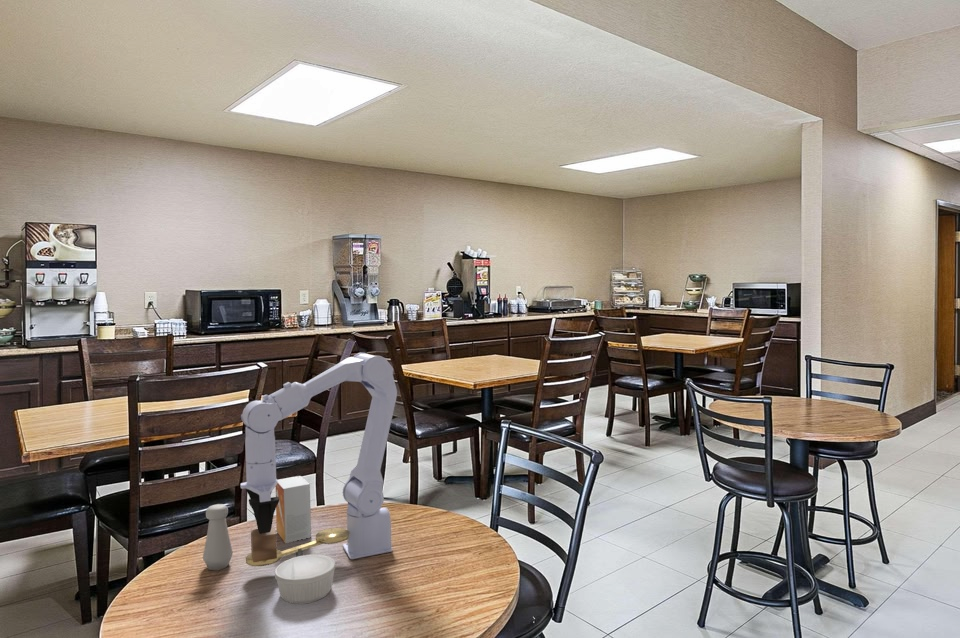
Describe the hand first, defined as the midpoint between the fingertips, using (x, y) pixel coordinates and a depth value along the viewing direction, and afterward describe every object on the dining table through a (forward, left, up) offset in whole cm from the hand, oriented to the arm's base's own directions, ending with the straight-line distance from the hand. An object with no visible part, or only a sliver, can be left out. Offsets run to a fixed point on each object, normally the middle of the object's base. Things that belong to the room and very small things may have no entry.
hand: (262, 525), depth 125 cm
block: (0, 0, -6) cm, 6 cm away
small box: (-9, -19, -11) cm, 23 cm away
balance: (-7, 0, -10) cm, 13 cm away
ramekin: (-7, +11, -11) cm, 17 cm away
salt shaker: (+8, -9, -10) cm, 16 cm away
